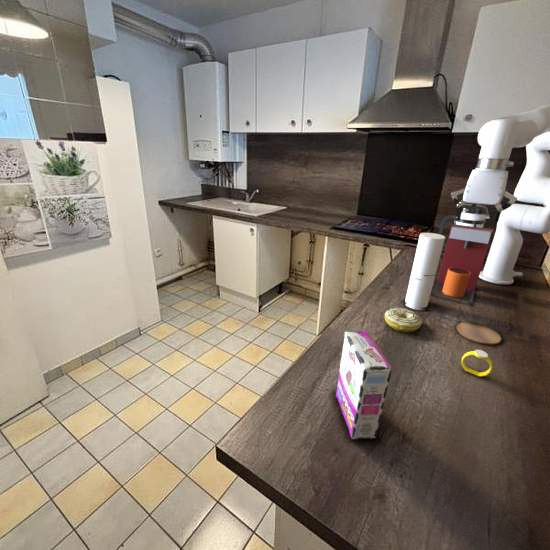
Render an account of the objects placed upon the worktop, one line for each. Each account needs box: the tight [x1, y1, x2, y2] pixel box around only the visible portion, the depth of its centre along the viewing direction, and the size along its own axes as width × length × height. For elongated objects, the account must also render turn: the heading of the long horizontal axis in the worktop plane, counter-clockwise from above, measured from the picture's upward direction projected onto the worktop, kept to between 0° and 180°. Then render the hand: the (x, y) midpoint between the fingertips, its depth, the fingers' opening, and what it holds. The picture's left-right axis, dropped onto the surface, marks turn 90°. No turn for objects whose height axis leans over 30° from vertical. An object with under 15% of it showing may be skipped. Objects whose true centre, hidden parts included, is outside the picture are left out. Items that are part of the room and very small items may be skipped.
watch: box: [461, 349, 493, 377], centre depth 69 cm, size 6×3×6 cm, turn 53°
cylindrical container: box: [404, 232, 446, 311], centre depth 97 cm, size 7×7×25 cm
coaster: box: [456, 321, 502, 346], centre depth 86 cm, size 11×11×1 cm
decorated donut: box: [384, 307, 423, 333], centre depth 89 cm, size 10×11×4 cm
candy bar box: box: [335, 330, 393, 440], centre depth 55 cm, size 11×5×16 cm, turn 5°
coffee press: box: [437, 203, 491, 258], centre depth 143 cm, size 17×16×30 cm
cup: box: [442, 267, 471, 297], centre depth 107 cm, size 7×7×9 cm
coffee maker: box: [431, 223, 494, 304], centre depth 108 cm, size 18×13×24 cm
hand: (475, 221), depth 94 cm, fingers open, 9 cm apart
